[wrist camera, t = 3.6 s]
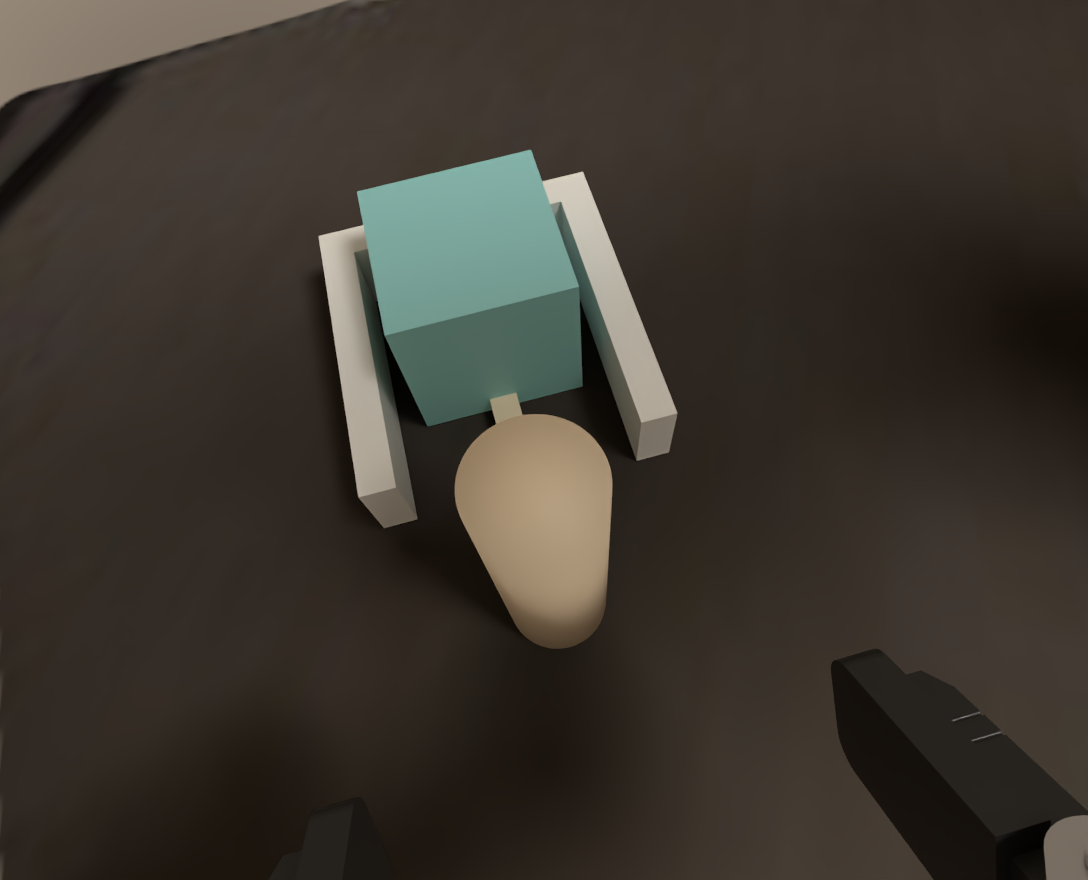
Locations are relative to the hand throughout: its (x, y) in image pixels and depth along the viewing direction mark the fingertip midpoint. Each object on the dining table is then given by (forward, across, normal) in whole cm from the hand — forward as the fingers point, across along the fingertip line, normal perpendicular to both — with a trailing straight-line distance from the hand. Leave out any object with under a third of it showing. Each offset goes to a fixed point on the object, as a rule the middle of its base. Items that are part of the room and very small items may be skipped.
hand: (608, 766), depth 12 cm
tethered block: (+15, 0, -1) cm, 15 cm away
